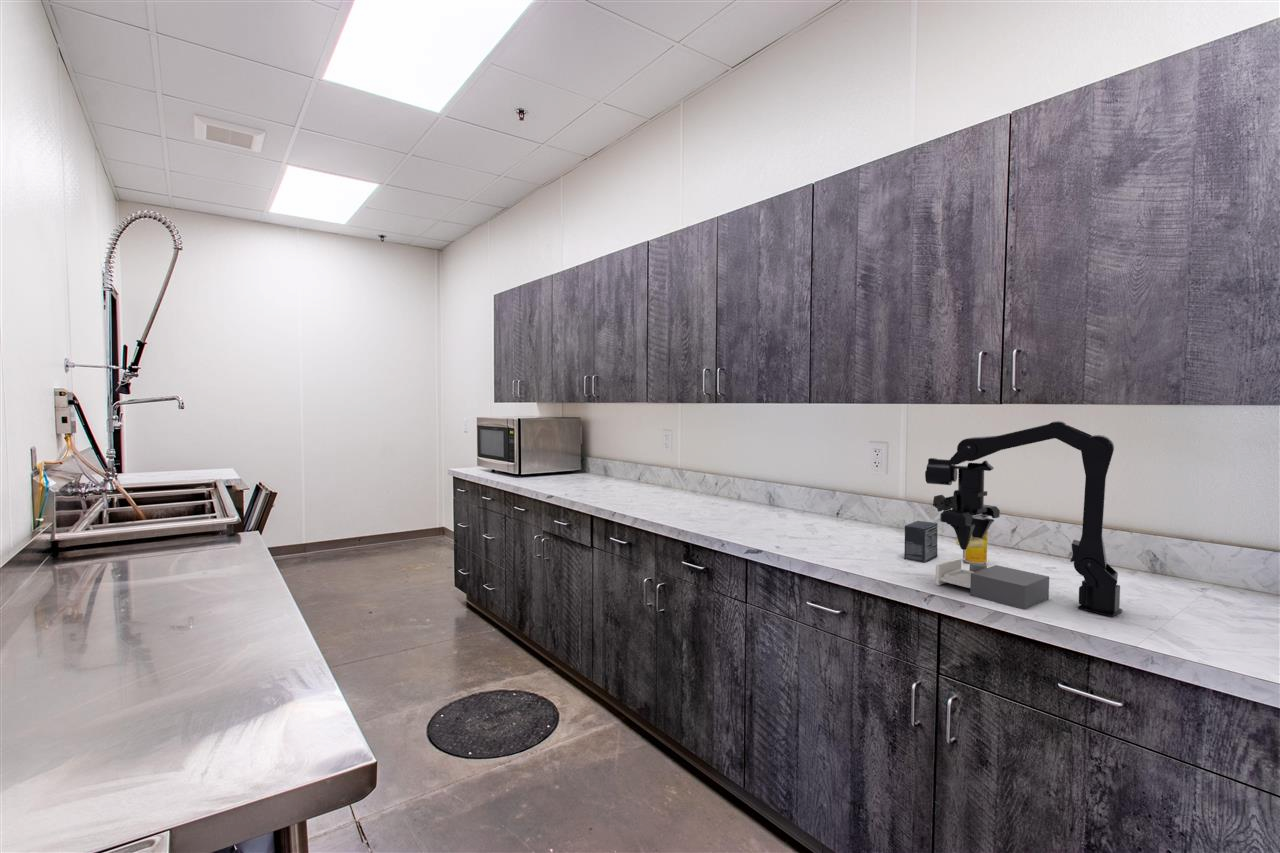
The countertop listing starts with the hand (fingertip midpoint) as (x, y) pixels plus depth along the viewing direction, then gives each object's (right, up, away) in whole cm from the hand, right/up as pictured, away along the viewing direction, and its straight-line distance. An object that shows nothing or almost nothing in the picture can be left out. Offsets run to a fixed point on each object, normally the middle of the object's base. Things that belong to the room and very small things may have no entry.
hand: (969, 547), depth 149 cm
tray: (0, -10, 0) cm, 10 cm away
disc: (0, +1, 0) cm, 1 cm away
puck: (+7, -10, +8) cm, 14 cm away
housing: (+5, -10, -7) cm, 14 cm away
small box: (+1, -9, +29) cm, 30 cm away
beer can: (+15, -9, +23) cm, 29 cm away
